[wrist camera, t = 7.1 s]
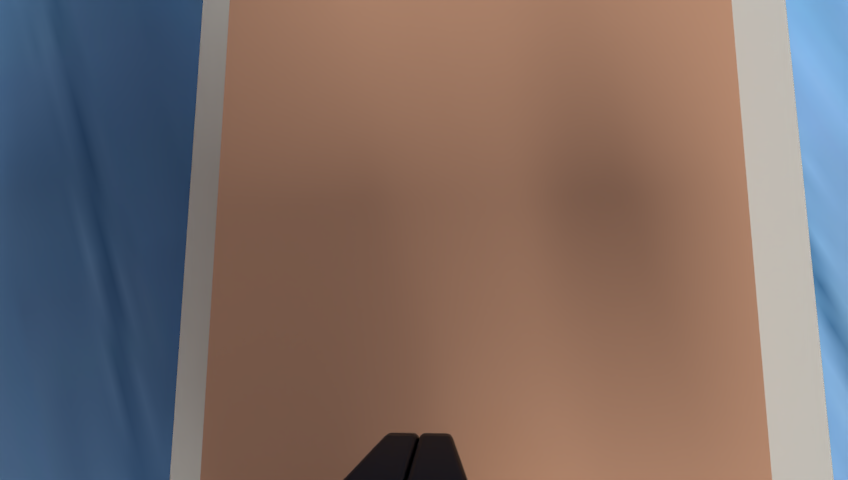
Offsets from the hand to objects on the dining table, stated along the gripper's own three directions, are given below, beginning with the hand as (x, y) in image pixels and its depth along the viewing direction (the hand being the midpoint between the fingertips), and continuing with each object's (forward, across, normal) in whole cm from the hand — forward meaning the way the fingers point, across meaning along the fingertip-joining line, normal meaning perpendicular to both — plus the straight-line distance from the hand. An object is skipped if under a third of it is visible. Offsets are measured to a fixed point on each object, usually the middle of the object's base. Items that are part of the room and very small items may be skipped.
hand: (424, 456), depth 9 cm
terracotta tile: (+4, 0, -7) cm, 8 cm away
